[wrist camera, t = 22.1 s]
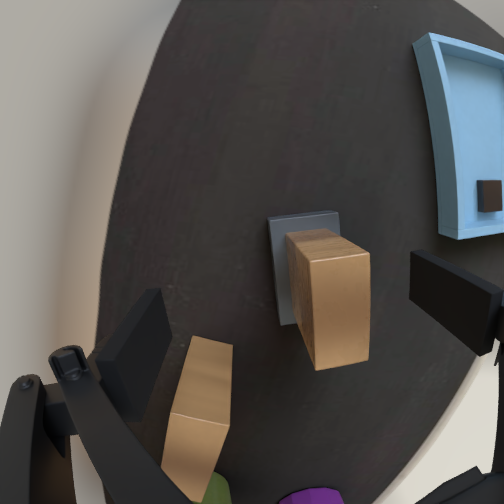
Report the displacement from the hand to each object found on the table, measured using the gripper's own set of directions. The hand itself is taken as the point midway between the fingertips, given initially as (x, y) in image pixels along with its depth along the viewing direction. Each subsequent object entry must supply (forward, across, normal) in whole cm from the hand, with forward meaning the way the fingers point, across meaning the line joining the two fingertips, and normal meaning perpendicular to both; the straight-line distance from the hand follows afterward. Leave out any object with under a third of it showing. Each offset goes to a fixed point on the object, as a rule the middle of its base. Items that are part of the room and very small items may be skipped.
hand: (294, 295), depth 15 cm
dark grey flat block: (+8, +21, +3) cm, 23 cm away
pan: (+9, +21, +8) cm, 25 cm away
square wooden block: (+9, -8, -11) cm, 16 cm away
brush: (+9, +2, -1) cm, 9 cm away
